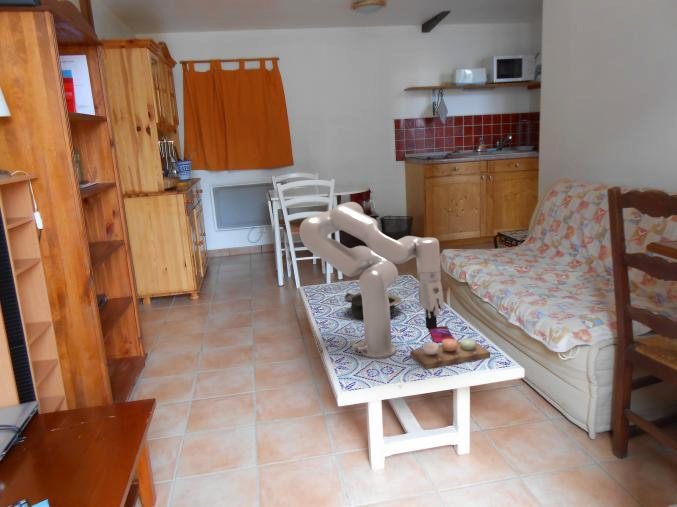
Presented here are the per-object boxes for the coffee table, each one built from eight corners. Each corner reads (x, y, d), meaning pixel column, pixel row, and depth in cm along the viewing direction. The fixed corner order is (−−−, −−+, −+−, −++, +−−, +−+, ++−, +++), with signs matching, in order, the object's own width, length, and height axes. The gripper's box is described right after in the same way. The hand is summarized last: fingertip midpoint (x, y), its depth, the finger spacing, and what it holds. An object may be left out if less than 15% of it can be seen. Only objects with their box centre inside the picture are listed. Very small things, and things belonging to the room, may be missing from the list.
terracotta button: (446, 352, 171) (446, 345, 170) (439, 346, 175) (439, 340, 175) (459, 349, 172) (459, 342, 171) (452, 344, 177) (452, 337, 176)
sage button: (465, 351, 173) (464, 344, 172) (457, 346, 177) (457, 339, 177) (478, 348, 174) (478, 342, 173) (470, 343, 179) (470, 337, 178)
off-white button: (427, 355, 169) (426, 348, 169) (421, 349, 174) (420, 343, 173) (440, 353, 170) (440, 346, 170) (434, 347, 175) (434, 341, 174)
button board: (424, 369, 166) (424, 363, 165) (410, 355, 177) (410, 350, 177) (490, 357, 172) (490, 351, 171) (472, 344, 183) (472, 339, 182)
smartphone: (434, 342, 187) (427, 327, 201) (434, 344, 187) (427, 329, 201) (455, 341, 186) (447, 325, 201) (455, 343, 187) (447, 328, 201)
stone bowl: (338, 321, 215) (337, 300, 214) (355, 306, 239) (354, 287, 237) (395, 323, 207) (394, 301, 206) (407, 308, 230) (406, 288, 229)
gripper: (449, 278, 160) (452, 333, 164) (429, 269, 174) (432, 319, 178) (428, 282, 158) (430, 337, 162) (409, 272, 172) (412, 323, 176)
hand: (431, 327), depth 170 cm, fingers closed
